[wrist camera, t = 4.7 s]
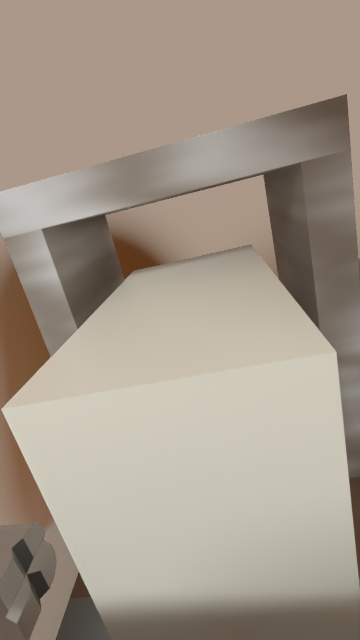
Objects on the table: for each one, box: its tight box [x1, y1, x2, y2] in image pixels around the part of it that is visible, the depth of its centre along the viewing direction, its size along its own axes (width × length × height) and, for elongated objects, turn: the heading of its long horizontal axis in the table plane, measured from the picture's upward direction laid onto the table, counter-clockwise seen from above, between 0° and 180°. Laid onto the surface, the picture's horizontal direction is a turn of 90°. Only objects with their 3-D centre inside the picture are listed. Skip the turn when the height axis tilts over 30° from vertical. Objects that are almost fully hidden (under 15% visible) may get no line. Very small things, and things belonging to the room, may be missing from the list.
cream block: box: [2, 245, 360, 640], centre depth 13 cm, size 6×12×10 cm, turn 177°
